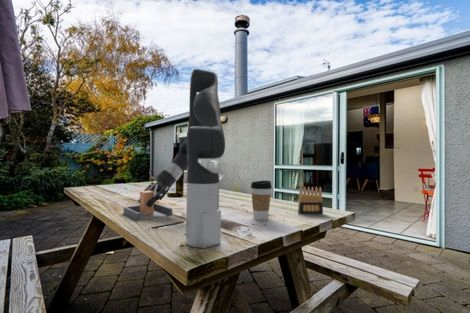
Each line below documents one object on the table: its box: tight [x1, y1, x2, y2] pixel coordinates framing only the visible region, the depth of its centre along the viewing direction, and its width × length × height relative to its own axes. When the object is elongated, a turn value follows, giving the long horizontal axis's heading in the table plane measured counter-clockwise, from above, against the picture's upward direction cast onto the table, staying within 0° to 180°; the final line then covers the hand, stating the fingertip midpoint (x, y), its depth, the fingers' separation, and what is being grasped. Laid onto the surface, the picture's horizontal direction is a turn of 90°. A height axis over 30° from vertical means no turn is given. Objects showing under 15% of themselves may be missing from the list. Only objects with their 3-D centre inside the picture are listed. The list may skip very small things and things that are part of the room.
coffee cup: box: [250, 180, 273, 221], centre depth 100 cm, size 8×8×15 cm
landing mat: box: [150, 221, 185, 230], centre depth 91 cm, size 9×12×1 cm
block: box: [139, 190, 154, 215], centre depth 102 cm, size 4×4×9 cm
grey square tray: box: [123, 202, 173, 221], centre depth 101 cm, size 15×14×4 cm
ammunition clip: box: [297, 186, 324, 215], centre depth 110 cm, size 11×2×12 cm, turn 94°
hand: (143, 204), depth 101 cm, fingers open, 8 cm apart
